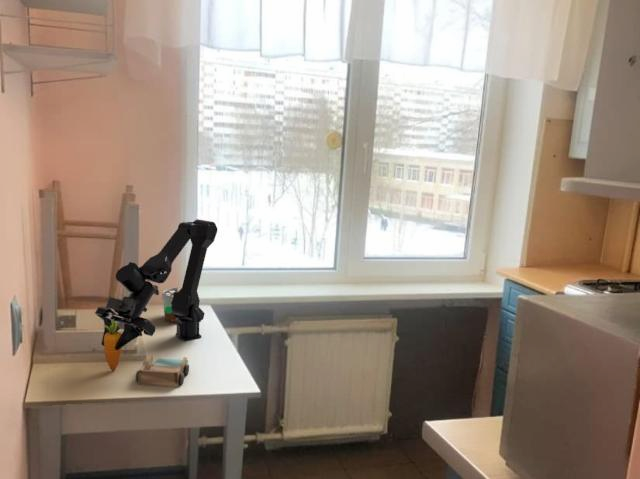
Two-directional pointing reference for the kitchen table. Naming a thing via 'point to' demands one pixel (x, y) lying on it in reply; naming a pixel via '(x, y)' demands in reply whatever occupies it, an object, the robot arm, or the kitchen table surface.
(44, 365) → the kitchen table surface
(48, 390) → the kitchen table surface
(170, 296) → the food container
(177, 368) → the cart
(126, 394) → the kitchen table surface
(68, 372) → the kitchen table surface
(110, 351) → the carrot
